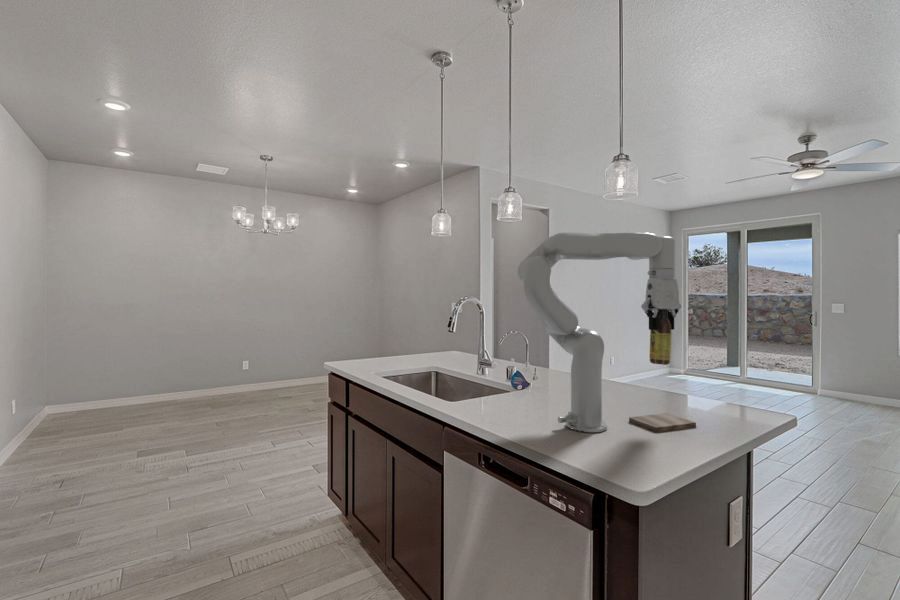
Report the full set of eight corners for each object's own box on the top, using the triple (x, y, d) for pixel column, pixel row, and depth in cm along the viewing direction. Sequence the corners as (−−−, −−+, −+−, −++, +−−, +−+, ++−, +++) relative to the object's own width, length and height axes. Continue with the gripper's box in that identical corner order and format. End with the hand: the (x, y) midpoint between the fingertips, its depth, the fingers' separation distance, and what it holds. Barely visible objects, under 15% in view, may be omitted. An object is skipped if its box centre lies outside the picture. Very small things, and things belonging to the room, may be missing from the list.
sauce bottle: (649, 361, 148) (651, 303, 148) (670, 363, 146) (672, 303, 146) (648, 364, 142) (651, 303, 142) (670, 365, 140) (672, 303, 140)
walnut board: (656, 432, 136) (656, 427, 136) (629, 421, 147) (629, 417, 147) (696, 427, 141) (696, 422, 141) (666, 417, 152) (666, 413, 152)
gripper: (649, 273, 137) (649, 331, 137) (691, 274, 143) (691, 329, 143) (632, 274, 144) (631, 329, 144) (673, 275, 150) (672, 328, 150)
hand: (661, 329), depth 144 cm, fingers closed on sauce bottle, 6 cm apart
